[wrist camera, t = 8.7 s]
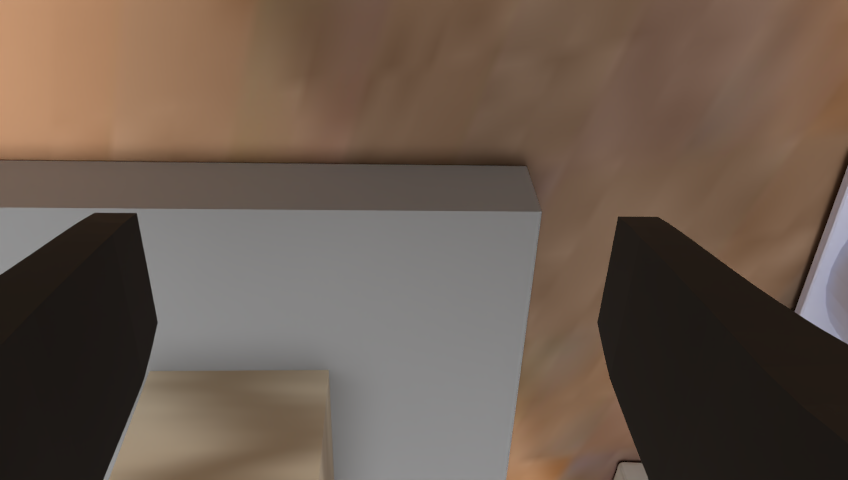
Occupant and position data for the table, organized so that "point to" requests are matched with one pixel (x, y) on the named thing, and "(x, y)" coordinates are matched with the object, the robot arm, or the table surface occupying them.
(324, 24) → the table surface
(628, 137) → the table surface
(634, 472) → the small box
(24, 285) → the robot arm
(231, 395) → the maple block
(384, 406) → the slate plinth
